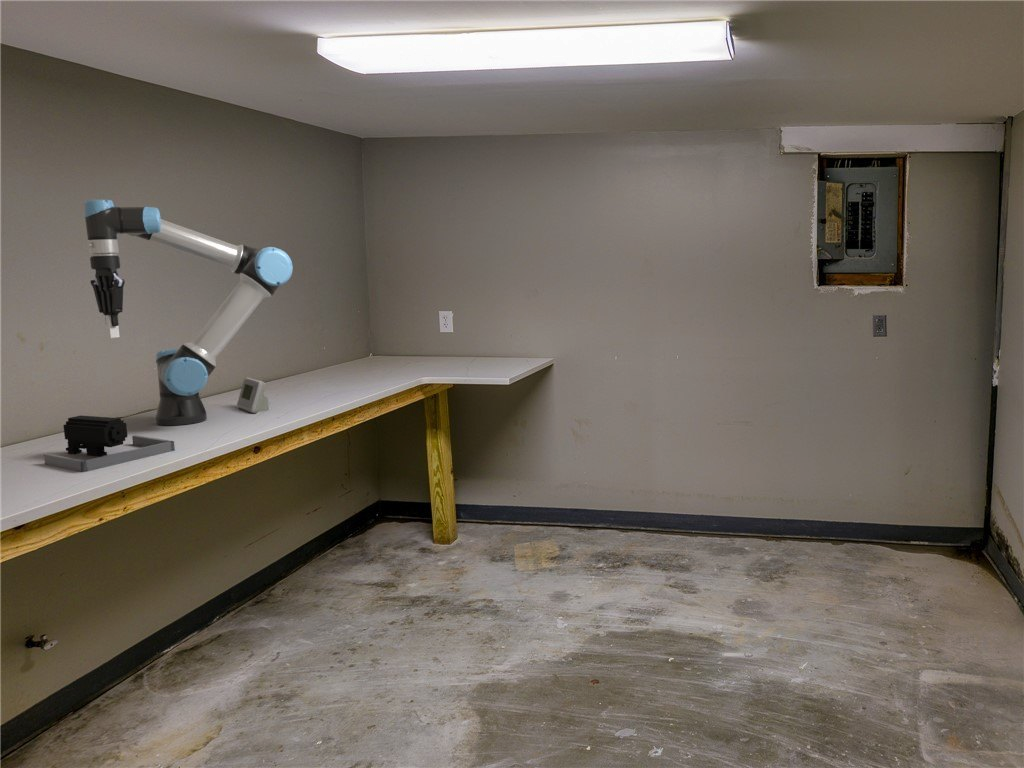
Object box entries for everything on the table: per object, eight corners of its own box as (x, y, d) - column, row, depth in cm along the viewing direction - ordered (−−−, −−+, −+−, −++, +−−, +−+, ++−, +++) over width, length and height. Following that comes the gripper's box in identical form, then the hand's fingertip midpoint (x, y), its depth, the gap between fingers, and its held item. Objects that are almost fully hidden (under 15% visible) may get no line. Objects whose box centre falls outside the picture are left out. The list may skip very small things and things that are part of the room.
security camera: (81, 449, 220) (77, 413, 219) (131, 454, 213) (127, 417, 212) (58, 455, 214) (54, 418, 212) (109, 460, 207) (105, 422, 205)
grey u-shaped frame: (136, 443, 226) (135, 435, 225) (174, 450, 217) (174, 441, 216) (45, 463, 205) (43, 454, 204) (83, 471, 196) (82, 461, 195)
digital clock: (236, 407, 280) (234, 377, 279) (263, 405, 284) (261, 375, 283) (242, 415, 266) (240, 383, 264) (271, 412, 270) (268, 381, 268)
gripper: (78, 256, 230) (88, 338, 234) (105, 254, 223) (115, 339, 227) (103, 255, 236) (112, 335, 240) (130, 254, 229) (139, 336, 233)
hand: (113, 337), depth 233 cm, fingers closed
